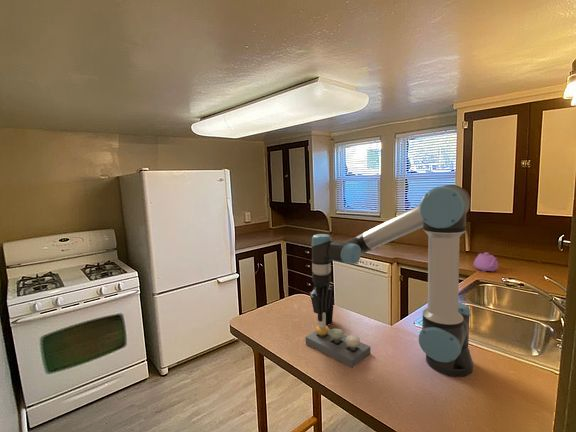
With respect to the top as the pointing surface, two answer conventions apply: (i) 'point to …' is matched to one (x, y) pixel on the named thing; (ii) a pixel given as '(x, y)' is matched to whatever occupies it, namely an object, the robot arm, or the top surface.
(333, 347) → the panel
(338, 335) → the button sage
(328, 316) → the cup
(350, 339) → the button cream
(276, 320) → the top surface
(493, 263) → the purple lumpy mound
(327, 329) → the button amber
